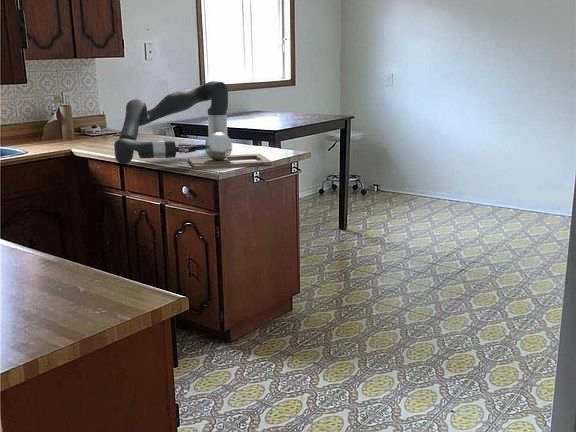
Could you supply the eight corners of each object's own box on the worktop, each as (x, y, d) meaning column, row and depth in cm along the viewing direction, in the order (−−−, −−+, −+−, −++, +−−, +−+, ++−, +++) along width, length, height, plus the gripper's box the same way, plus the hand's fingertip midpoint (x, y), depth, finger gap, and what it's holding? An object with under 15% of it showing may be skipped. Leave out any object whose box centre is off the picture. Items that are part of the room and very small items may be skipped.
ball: (198, 153, 275) (207, 127, 274) (224, 161, 279) (233, 135, 278) (202, 157, 264) (212, 130, 262) (229, 165, 268) (238, 139, 266)
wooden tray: (188, 160, 280) (187, 157, 279) (260, 156, 289) (259, 153, 288) (195, 169, 259) (194, 166, 259) (272, 165, 268) (272, 161, 268)
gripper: (164, 142, 257) (206, 140, 262) (161, 138, 270) (201, 136, 274) (165, 160, 259) (207, 158, 264) (162, 155, 272) (202, 153, 276)
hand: (204, 147), depth 269 cm, fingers closed
